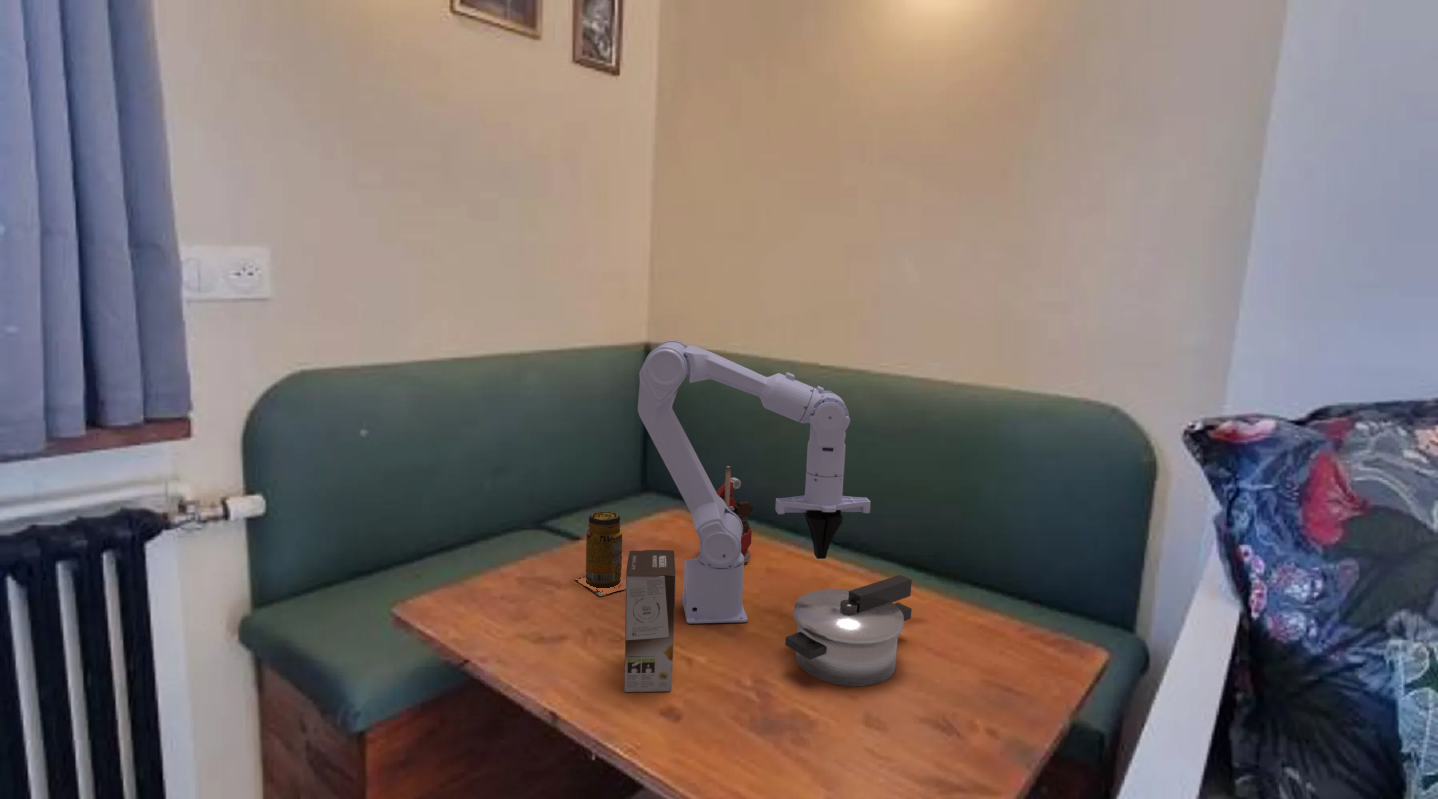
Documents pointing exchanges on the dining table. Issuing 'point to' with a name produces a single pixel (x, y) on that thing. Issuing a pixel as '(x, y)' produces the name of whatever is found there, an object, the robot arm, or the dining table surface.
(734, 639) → the dining table surface
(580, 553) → the dining table surface
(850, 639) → the lid
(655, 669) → the coffee box
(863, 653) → the cooker pot
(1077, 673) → the dining table surface
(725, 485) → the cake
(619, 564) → the condiment
